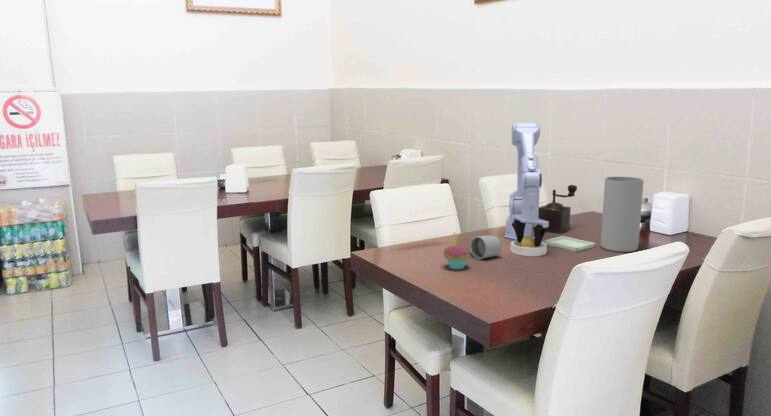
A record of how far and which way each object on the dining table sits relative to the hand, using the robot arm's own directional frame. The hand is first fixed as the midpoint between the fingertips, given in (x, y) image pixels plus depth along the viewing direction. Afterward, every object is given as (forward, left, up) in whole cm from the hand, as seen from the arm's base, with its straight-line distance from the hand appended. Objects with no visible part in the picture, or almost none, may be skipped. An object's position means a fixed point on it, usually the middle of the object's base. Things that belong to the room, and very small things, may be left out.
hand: (528, 244), depth 203 cm
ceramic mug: (-6, -17, -3) cm, 18 cm away
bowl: (0, 0, -3) cm, 3 cm away
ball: (0, 0, 0) cm, 0 cm away
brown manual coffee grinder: (-16, +37, -3) cm, 41 cm away
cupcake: (-2, -33, -3) cm, 33 cm away
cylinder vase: (+17, +29, -3) cm, 34 cm away
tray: (+4, +18, -3) cm, 19 cm away
